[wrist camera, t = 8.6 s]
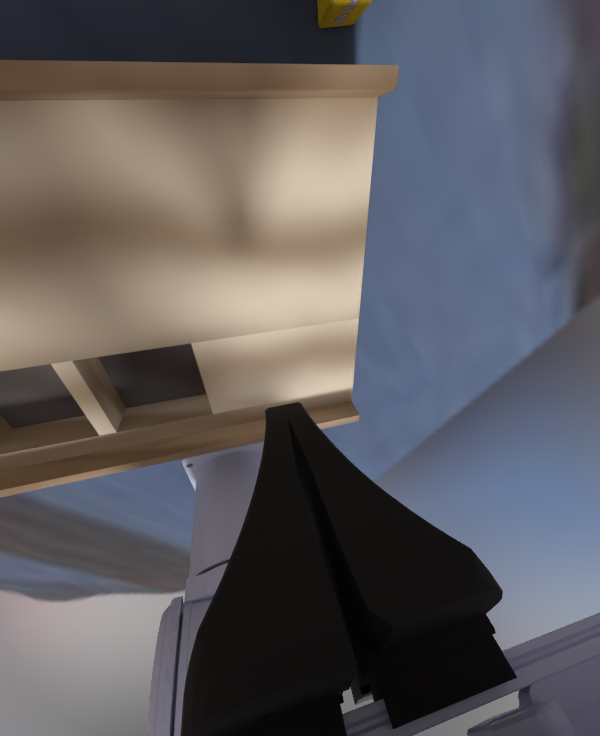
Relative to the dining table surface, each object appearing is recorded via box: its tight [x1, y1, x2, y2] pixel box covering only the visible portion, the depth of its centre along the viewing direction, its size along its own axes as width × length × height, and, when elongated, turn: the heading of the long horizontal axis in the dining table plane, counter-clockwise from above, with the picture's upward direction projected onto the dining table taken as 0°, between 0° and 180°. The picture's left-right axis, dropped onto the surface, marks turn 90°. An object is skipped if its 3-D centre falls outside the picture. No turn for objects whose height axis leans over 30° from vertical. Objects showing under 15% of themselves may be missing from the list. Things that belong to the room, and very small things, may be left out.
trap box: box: [0, 60, 399, 497], centre depth 14 cm, size 18×30×4 cm, turn 93°
